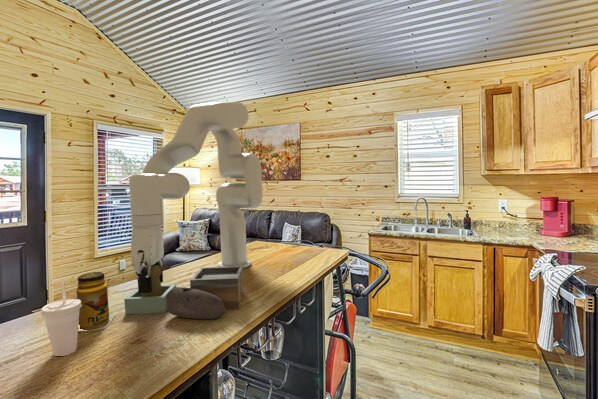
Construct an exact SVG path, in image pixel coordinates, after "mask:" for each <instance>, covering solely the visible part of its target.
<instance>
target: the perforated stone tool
mask: <svg viewBox="0 0 598 399" xmlns="http://www.w3.org/2000/svg"><path fill="white" fill-rule="evenodd" d="M166 307H167V310H166V311H167V312H168V314H171V315H172V316H176V317H180V318H184V319H194V320H195V319H196V320H214V319H218V318H221V317H222V316H223V315H224V314H225V311H226V310H225V307H224V304H223V302H222V300H221V299H220V298H218V297H217V296H215V295H213V294H211V293H208V292H205V291H201V290H197V289H192V288H190V287H182V286H181V287H179V286H176V288H173V289H171V290H170V291H169V292H168V293H167V294H166Z"/></svg>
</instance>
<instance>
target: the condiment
mask: <svg viewBox="0 0 598 399" xmlns="http://www.w3.org/2000/svg"><path fill="white" fill-rule="evenodd" d="M77 281H78V282H77V288H76V299H79V300H81V305H82V306H81V307H80V310H79V325H80V329H83V330H88V331H87V332H92V331H93V332H94V331H98V330H99V331H100V330H105V329H106V328H107V327H108V326H109V325H110V324H111V322H112V321H113V319H114V318H115V317H116V314H113V315H110V309H109V297H108V296H109V295H108V284H107V283H106V278H105V274H104V272H102V271H101V272H100V271H95V272H94V271H92V272H87V273H84V274H81V275H79V276H78V277H77ZM79 332H80V333H81V332H84V331H78V333H79Z"/></svg>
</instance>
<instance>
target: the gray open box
mask: <svg viewBox="0 0 598 399" xmlns="http://www.w3.org/2000/svg"><path fill="white" fill-rule="evenodd" d="M189 286H190V287H189V288H192V289H197V290H201V291H205V292H208V293H211V294H213V295H215V296H217V297H218V298H220V299H221V300H222V302H223V304H224V307H225V311H227V310H228V311H229V310H240V306H241V303H242V301H243V300H242V299H243V298H244V292H245V288H244V286H245V285H244V268H243V266H234V267H218V266H212V267H211V266H210V267H209V266H208V267H200V268H199V269H198V271H196V273H194V275H193V276H192V277H191V278H190V280H189Z"/></svg>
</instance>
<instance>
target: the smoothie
mask: <svg viewBox="0 0 598 399" xmlns="http://www.w3.org/2000/svg"><path fill="white" fill-rule="evenodd" d="M60 283H61V294H62V296H61V297H62V299H59V300H57V301H53V302H50V303H48V304H46V305H44V306H43V307H42V308H41V309H40V310H41V311H40V312H41V313H40V315H41V316H43V317H44V318H43V319H44V323H45V326H46V330H47V334H48V338H49V342H50V347H51V350H52V354H54V355H55V356H64V357H66V356H65V355H67V356H69V355H68V354H70V355H72V354H74V353H75V352H76V351H77V350H78V349H77V348H78V337H79V335H78V333H79V332H78V324H79V310H80V307H81V306H82V305H81V300H79V299H77V298H67V294H66V282H65V281H61V282H60ZM76 349H77V350H76ZM73 352H74V353H73ZM71 353H72V354H71ZM54 355H53V356H54Z"/></svg>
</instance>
